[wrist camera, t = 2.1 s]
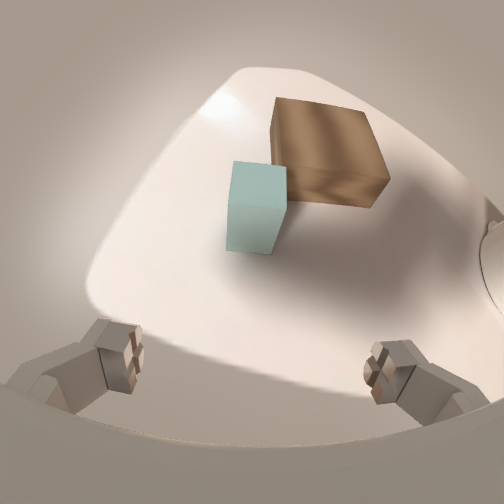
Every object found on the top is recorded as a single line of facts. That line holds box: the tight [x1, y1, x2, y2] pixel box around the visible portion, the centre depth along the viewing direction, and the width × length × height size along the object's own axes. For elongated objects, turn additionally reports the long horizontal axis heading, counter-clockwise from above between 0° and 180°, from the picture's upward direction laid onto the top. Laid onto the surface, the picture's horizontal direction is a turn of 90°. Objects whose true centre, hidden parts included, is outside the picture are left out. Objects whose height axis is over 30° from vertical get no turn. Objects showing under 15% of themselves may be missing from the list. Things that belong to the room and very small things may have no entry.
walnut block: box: [270, 97, 391, 208], centre depth 32 cm, size 12×12×6 cm
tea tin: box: [226, 161, 287, 255], centre depth 26 cm, size 4×4×8 cm
